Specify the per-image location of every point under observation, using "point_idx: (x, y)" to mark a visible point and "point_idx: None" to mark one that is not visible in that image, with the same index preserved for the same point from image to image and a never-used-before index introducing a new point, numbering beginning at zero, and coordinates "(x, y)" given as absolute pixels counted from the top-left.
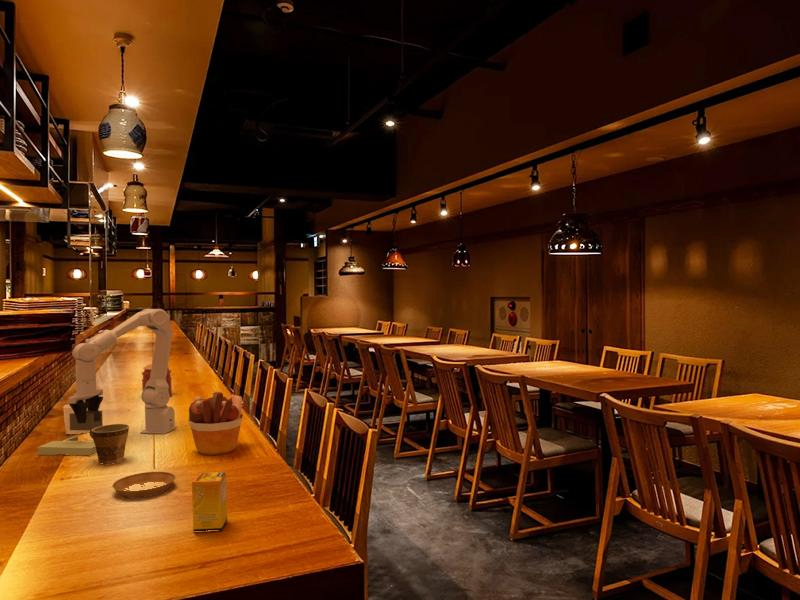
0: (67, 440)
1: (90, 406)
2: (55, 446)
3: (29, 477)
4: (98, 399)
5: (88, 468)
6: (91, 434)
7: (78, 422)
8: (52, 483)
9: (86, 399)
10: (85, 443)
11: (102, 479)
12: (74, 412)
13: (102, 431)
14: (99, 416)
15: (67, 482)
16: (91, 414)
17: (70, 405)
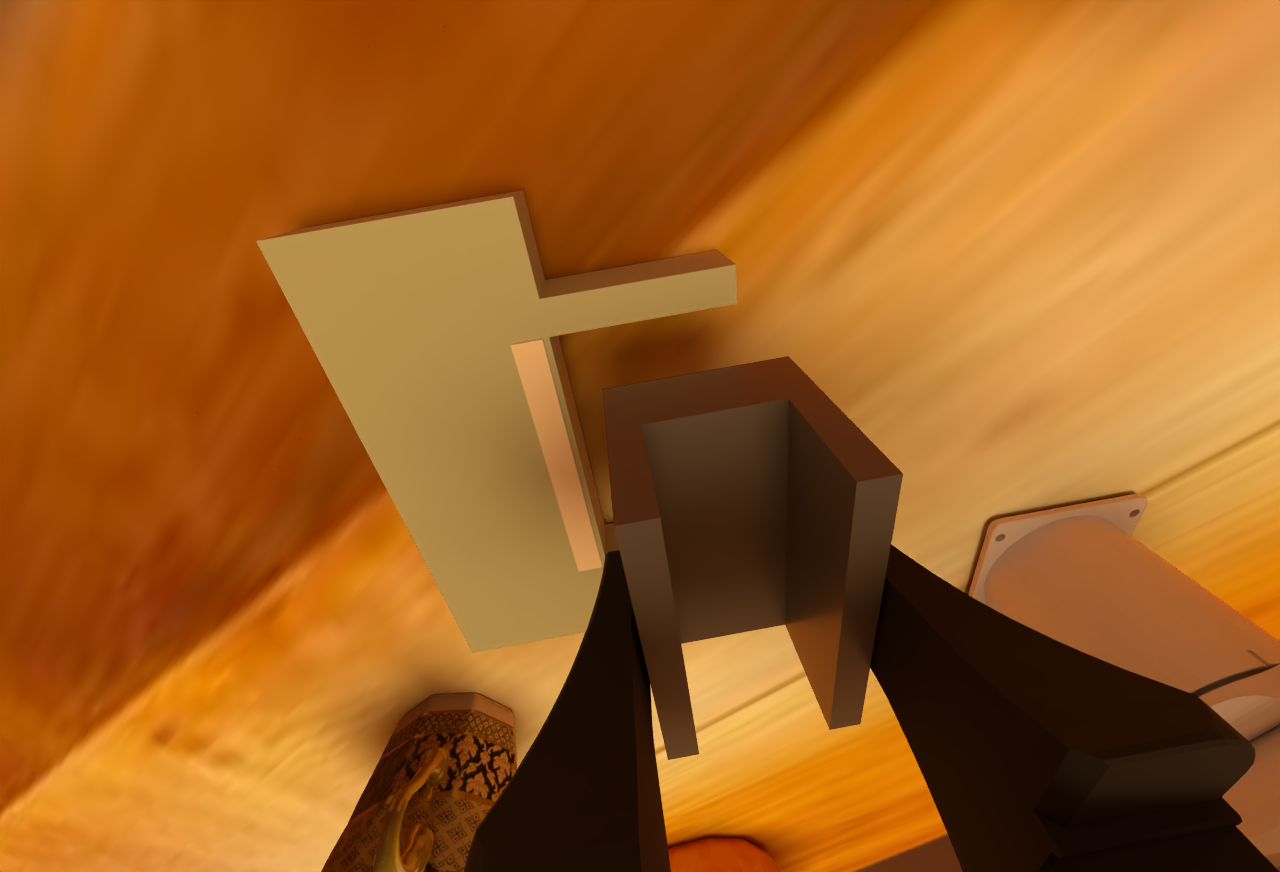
0: (581, 330)
1: (922, 672)
2: (374, 408)
3: (24, 617)
4: None
5: (329, 721)
6: (398, 810)
7: (605, 567)
8: (96, 747)
9: (1045, 774)
10: (544, 551)
11: (276, 824)
12: (567, 681)
13: (433, 868)
14: (803, 657)
15: (156, 775)
16: (667, 748)
17: (485, 836)
